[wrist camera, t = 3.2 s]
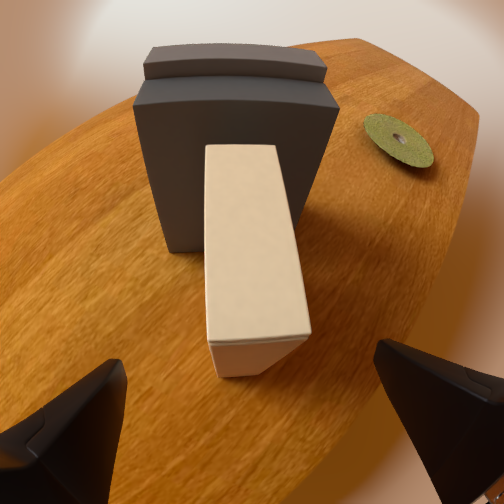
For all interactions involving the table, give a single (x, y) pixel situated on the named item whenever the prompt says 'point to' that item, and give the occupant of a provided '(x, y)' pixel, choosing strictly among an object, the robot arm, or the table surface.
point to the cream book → (250, 262)
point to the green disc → (399, 140)
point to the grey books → (228, 122)
